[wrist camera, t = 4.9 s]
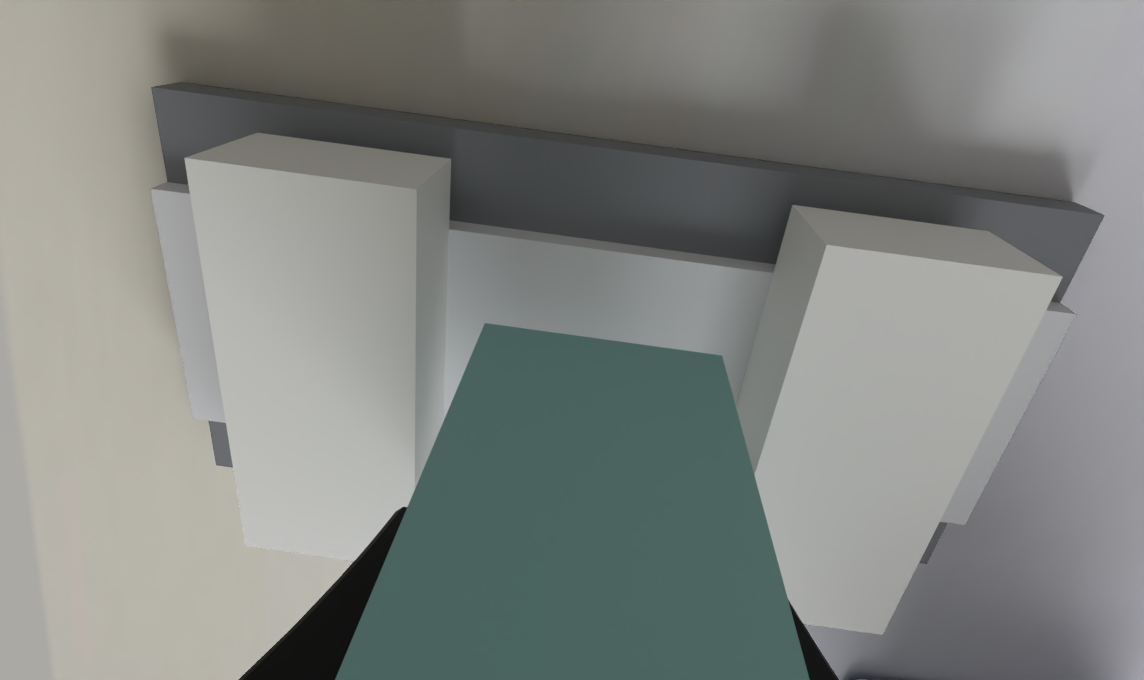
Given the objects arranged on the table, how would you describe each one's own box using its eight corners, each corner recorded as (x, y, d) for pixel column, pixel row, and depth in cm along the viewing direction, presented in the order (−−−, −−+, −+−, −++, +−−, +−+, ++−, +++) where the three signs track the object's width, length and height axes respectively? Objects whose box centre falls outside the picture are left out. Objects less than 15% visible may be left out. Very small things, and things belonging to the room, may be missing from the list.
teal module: (722, 355, 11) (905, 1028, 4) (657, 600, 14) (693, 1243, 7) (484, 323, 11) (229, 931, 4) (470, 573, 14) (308, 1186, 7)
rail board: (1074, 202, 14) (1228, 268, 11) (912, 537, 19) (981, 664, 15) (180, 82, 14) (31, 107, 11) (235, 443, 19) (143, 546, 15)
